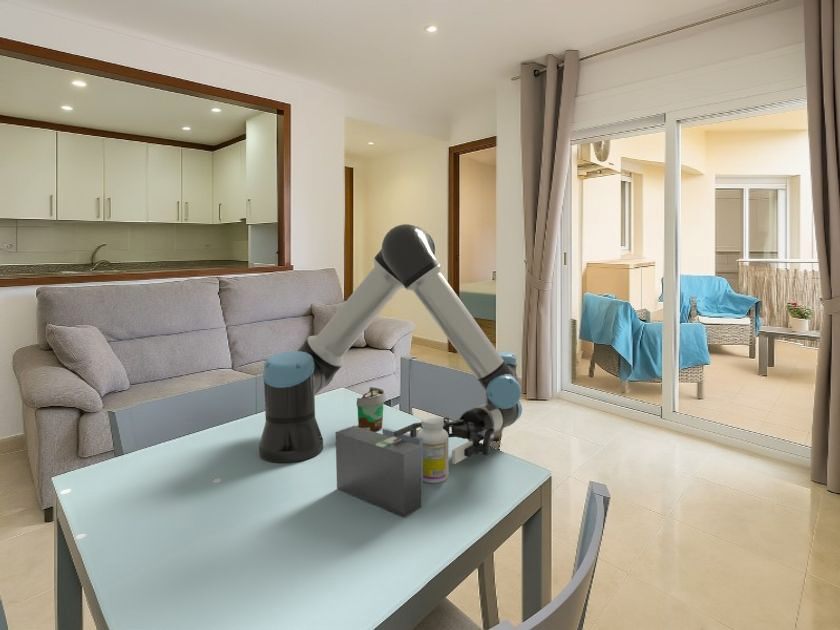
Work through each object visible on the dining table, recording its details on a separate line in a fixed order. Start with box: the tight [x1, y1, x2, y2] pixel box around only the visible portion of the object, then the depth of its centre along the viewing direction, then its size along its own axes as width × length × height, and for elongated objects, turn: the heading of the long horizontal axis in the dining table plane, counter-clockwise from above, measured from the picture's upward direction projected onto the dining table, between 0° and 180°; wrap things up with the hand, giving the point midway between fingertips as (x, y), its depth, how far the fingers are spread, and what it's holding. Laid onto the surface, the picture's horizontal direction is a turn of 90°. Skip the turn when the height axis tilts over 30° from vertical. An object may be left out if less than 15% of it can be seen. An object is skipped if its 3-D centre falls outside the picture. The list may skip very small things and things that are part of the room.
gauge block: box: [335, 425, 422, 518], centre depth 98 cm, size 18×5×12 cm, turn 52°
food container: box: [356, 386, 387, 433], centre depth 138 cm, size 12×6×10 cm, turn 168°
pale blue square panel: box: [382, 423, 424, 487], centre depth 102 cm, size 10×6×12 cm, turn 52°
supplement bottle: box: [417, 415, 449, 484], centre depth 107 cm, size 7×7×13 cm
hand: (426, 449), depth 105 cm, fingers open, 13 cm apart
